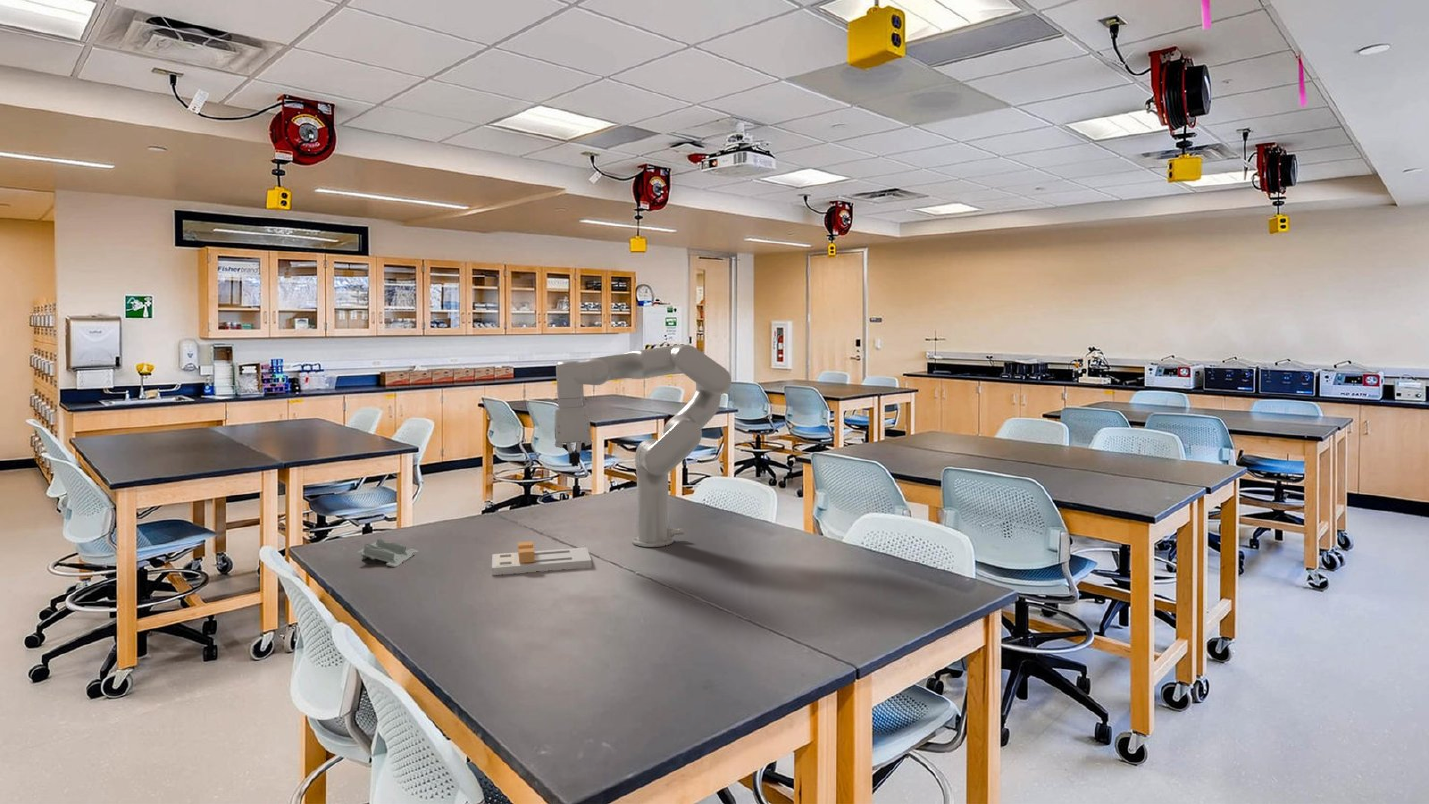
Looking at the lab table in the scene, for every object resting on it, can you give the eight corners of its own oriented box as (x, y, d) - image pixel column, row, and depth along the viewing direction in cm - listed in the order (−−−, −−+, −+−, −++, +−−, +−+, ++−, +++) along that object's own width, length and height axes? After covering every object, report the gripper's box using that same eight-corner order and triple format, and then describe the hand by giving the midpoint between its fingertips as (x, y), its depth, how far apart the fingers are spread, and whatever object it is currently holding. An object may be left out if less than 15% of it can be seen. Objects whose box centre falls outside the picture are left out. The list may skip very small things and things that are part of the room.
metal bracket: (351, 547, 207) (378, 532, 222) (346, 567, 208) (373, 551, 223) (402, 562, 207) (425, 547, 222) (396, 582, 208) (420, 565, 223)
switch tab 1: (532, 551, 215) (532, 541, 214) (533, 554, 211) (533, 544, 211) (518, 552, 213) (517, 542, 213) (518, 555, 210) (518, 545, 210)
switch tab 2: (534, 558, 208) (533, 548, 208) (534, 561, 204) (534, 551, 204) (518, 559, 207) (518, 549, 207) (519, 563, 203) (519, 552, 203)
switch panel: (586, 554, 220) (586, 546, 220) (591, 567, 207) (591, 559, 207) (492, 561, 213) (492, 553, 213) (492, 575, 201) (491, 567, 200)
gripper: (594, 400, 228) (598, 461, 229) (543, 404, 223) (547, 466, 225) (598, 402, 220) (602, 465, 222) (546, 406, 216) (550, 470, 218)
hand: (574, 465), depth 224 cm, fingers closed
